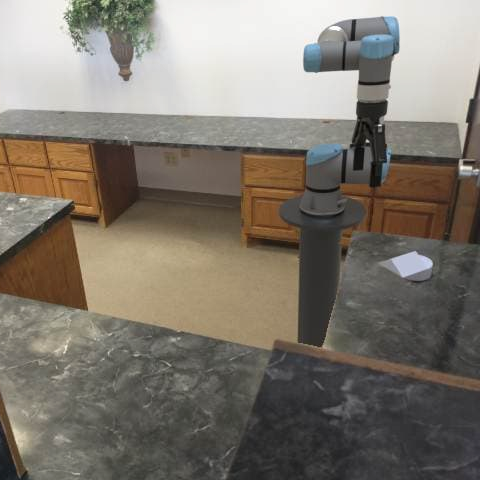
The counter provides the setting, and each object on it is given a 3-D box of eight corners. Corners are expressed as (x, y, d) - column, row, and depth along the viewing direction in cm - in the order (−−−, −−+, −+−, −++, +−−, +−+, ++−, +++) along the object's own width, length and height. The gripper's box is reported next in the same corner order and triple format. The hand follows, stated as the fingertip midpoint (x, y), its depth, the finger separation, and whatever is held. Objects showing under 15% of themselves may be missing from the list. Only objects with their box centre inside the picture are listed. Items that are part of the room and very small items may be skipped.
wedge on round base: (401, 288, 134) (438, 275, 138) (404, 266, 131) (442, 253, 135) (376, 273, 142) (412, 261, 146) (378, 252, 139) (415, 240, 143)
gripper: (407, 108, 119) (397, 193, 129) (370, 89, 142) (364, 162, 151) (374, 112, 120) (367, 195, 129) (342, 92, 142) (338, 164, 151)
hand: (366, 178), depth 140 cm, fingers open, 13 cm apart
